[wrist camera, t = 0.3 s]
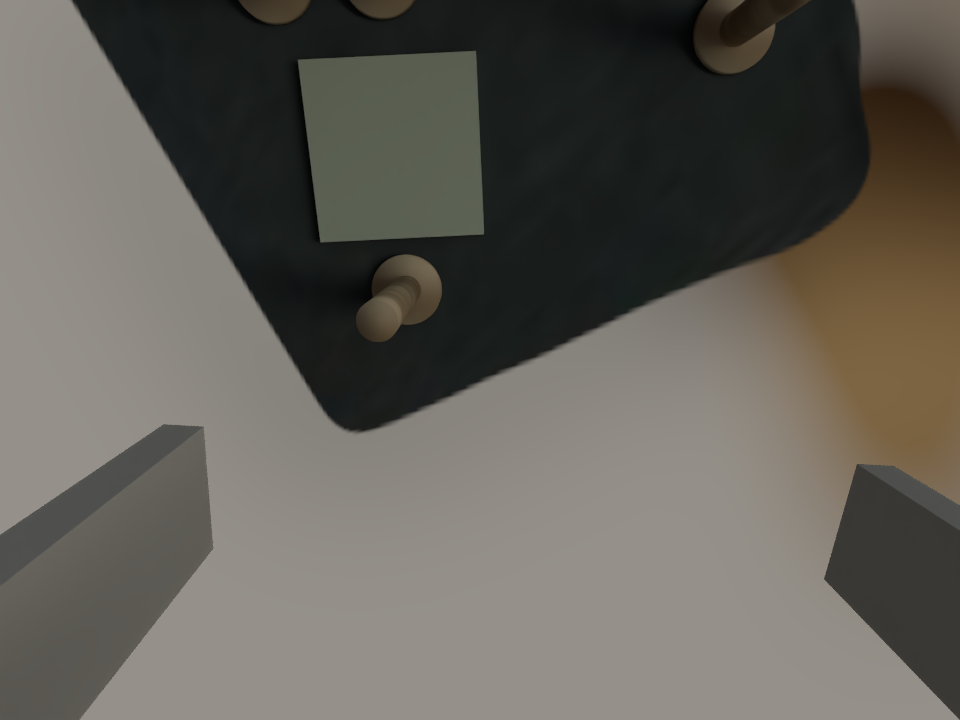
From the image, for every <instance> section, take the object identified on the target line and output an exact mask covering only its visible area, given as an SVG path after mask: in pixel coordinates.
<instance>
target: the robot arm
mask: <svg viewBox="0 0 960 720" xmlns="http://www.w3.org/2000/svg"><path fill="white" fill-rule="evenodd" d="M212 549H213V541H212V529H211V516H210V504H209V490H208V478H207V465H206V453H205V440H204V427H199V426H181V425H162V426H161V427H159V428H158V429H156V430H155V431H153V432H152V433H151V434H149V435H147V436H146V437H145V438H143V439H142V440H140V441H139V442H137V443H136V444H134V445H133V446H131V447H130V448H128V449H127V450H125V451H124V452H122V453H121V454H119V455H118V456H116V457H115V458H114V459H112V460H110V461H109V462H107V463H106V464H105V465H103V466H102V467H100V468H99V469H97V470H96V471H94V472H93V473H92V474H90V475H88V476H87V477H85V478H84V479H82V480H81V481H79V482H78V483H77V484H75V485H73V486H72V487H70V488H69V489H68V490H66V491H65V492H63V493H62V494H60V495H59V496H57V497H56V498H54V499H53V500H51V501H50V502H48V503H47V504H45V505H44V506H42V507H41V508H40V509H38V510H36V511H35V512H33V513H32V514H31V515H29V516H28V517H26V518H25V519H23V520H22V521H20V522H19V523H17V524H16V525H15V526H13V527H11V528H10V529H8V530H7V531H5V532H4V533H2V534H1V535H0V720H80V718H81V717H82V716H83V714H84V713H85V712H86V711H87V709H88V708H89V707H90V705H91V704H92V703H93V702H94V700H95V699H96V698H97V696H98V695H99V694H100V693H101V691H102V690H103V689H104V687H105V686H106V685H107V684H108V682H109V681H110V680H111V679H112V677H113V676H114V675H115V673H116V672H117V671H118V670H119V668H120V667H121V666H122V665H123V663H124V662H125V661H126V659H127V658H128V657H129V656H130V654H131V653H132V652H133V650H134V649H135V648H136V647H137V645H138V644H139V643H140V641H141V640H142V639H143V637H144V636H145V635H146V634H147V632H148V631H149V630H150V629H151V627H152V626H153V625H154V624H155V622H156V621H157V619H158V618H159V617H160V616H161V614H162V613H163V612H164V611H165V609H166V608H167V607H168V606H169V604H170V603H171V602H172V601H173V599H174V598H175V597H176V595H177V594H178V593H179V591H180V590H181V589H182V587H183V586H184V585H185V584H186V582H187V581H188V580H189V579H190V577H191V576H192V575H193V574H194V572H195V571H196V570H197V568H198V567H199V566H200V565H201V563H202V562H203V561H204V559H205V558H206V557H207V556H208V554H209V553H210V552H211V551H212ZM824 579H825V580H826V581H827V583H828V584H829V585H830V586H831V587H832V588H833V589H834V590H835V591H836V592H837V593H838V594H839V595H840V596H841V597H842V598H843V599H844V600H845V601H846V602H847V603H848V604H849V605H850V606H851V607H852V608H853V610H854V611H855V612H856V613H858V615H859V616H860V617H861V618H862V619H863V620H864V621H865V622H866V623H867V624H868V625H869V626H870V627H871V628H872V629H873V630H874V631H875V632H876V633H877V634H878V635H879V637H880V638H881V639H882V640H883V641H884V642H885V643H886V644H887V645H888V646H889V647H890V648H891V649H892V650H893V651H894V652H895V653H896V654H897V655H898V656H899V657H900V658H901V659H902V660H903V661H904V662H905V663H906V665H907V666H908V667H909V668H910V669H911V670H912V671H913V672H914V673H915V674H916V675H917V676H918V677H919V678H920V679H921V680H922V681H923V682H924V683H925V684H926V685H927V686H928V687H929V688H930V689H931V690H932V691H933V693H934V694H936V695H937V697H938V698H939V699H940V700H941V701H942V702H943V703H944V704H945V705H946V706H947V707H948V708H949V709H950V710H951V711H952V712H953V713H954V714H955V715H956V716H957V717H958V718H959V719H960V505H958V504H956V503H955V502H953V501H951V500H950V499H948V498H946V497H945V496H943V495H941V494H940V493H938V492H936V491H935V490H933V489H931V488H929V487H928V486H926V485H925V484H923V483H921V482H920V481H918V480H916V479H914V478H913V477H911V476H909V475H908V474H906V473H904V472H903V471H901V470H899V469H898V468H896V467H894V466H881V465H864V464H857V466H856V470H855V474H854V477H853V481H852V484H851V487H850V491H849V494H848V498H847V501H846V505H845V508H844V512H843V515H842V519H841V522H840V526H839V529H838V533H837V537H836V540H835V543H834V547H833V551H832V554H831V557H830V561H829V564H828V568H827V571H826V575H825V578H824Z"/></svg>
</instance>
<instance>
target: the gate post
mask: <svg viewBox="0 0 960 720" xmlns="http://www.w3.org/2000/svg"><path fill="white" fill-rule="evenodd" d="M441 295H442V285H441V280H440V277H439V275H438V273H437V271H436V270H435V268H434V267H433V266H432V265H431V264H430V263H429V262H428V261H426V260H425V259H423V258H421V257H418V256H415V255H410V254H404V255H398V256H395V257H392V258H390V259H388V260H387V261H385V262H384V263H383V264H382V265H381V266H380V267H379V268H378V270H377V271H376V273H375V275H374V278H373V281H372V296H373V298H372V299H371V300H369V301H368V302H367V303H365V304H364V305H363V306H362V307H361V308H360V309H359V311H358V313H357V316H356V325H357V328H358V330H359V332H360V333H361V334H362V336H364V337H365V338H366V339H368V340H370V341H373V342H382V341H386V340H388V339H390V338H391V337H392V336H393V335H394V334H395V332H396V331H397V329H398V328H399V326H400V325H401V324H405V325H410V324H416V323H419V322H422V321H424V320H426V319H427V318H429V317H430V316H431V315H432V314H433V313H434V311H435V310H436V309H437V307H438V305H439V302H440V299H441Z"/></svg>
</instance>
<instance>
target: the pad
mask: <svg viewBox="0 0 960 720" xmlns="http://www.w3.org/2000/svg"><path fill="white" fill-rule="evenodd" d="M298 65H299V74H300V82H301V90H302V98H303V106H304V114H305V122H306V130H307V138H308V146H309V154H310V162H311V170H312V178H313V186H314V194H315V202H316V210H317V219H318V227H319V235H320V242H337V241H357V240H378V239H398V238H418V237H439V236H459V235H479V234H484V223H483V200H482V177H481V155H480V132H479V109H478V87H477V64H476V51H467V52H447V53H426V54H406V55H386V56H366V57H345V58H325V59H305V60H298Z"/></svg>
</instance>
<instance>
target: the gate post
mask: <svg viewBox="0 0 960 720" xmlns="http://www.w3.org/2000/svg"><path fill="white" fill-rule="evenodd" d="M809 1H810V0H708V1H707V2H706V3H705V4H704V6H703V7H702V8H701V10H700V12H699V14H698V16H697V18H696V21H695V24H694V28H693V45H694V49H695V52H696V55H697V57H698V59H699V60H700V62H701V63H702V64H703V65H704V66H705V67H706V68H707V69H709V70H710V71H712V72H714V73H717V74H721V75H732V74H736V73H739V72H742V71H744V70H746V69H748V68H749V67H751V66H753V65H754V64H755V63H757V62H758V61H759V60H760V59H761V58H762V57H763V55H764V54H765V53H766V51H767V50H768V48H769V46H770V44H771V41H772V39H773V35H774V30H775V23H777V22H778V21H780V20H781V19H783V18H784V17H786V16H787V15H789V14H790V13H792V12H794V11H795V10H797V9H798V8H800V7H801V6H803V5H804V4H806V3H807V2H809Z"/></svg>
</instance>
